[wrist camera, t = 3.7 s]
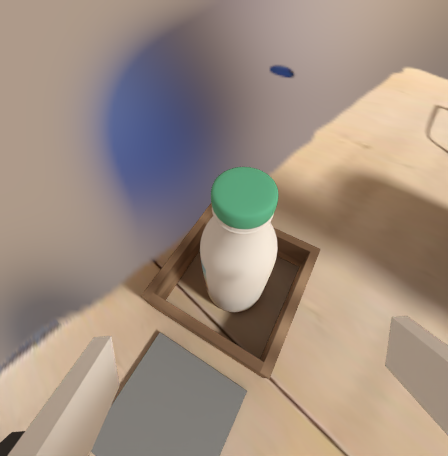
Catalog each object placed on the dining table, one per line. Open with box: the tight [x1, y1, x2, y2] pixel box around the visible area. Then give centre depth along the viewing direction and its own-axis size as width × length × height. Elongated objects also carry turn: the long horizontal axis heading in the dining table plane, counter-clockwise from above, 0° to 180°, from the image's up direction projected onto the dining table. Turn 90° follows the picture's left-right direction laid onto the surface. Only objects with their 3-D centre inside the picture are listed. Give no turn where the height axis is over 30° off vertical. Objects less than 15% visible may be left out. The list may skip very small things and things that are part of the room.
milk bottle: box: [200, 167, 278, 312], centre depth 24 cm, size 8×8×20 cm
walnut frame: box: [141, 203, 320, 379], centre depth 30 cm, size 16×16×5 cm
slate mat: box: [91, 333, 247, 456], centre depth 25 cm, size 12×12×1 cm
